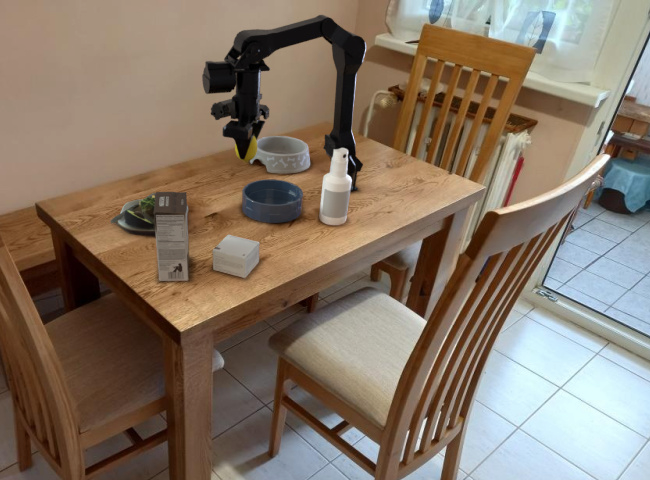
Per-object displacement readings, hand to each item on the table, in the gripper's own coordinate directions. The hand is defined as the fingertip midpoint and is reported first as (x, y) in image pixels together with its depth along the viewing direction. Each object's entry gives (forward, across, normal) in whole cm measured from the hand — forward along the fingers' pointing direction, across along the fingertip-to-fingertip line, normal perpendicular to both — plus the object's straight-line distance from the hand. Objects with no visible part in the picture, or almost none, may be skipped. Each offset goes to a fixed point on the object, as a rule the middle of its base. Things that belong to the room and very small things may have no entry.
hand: (246, 154), depth 144 cm
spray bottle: (+13, +2, +24) cm, 27 cm away
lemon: (+2, 0, 0) cm, 2 cm away
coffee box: (+13, +37, -4) cm, 39 cm away
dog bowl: (+13, -29, +2) cm, 32 cm away
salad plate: (+13, +18, -18) cm, 29 cm away
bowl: (+13, +2, +8) cm, 15 cm away
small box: (+13, +31, +8) cm, 34 cm away
